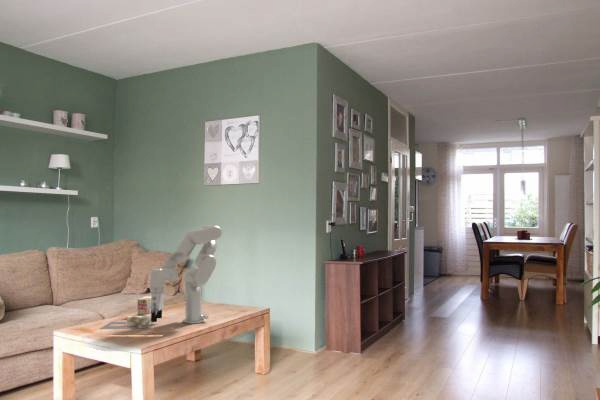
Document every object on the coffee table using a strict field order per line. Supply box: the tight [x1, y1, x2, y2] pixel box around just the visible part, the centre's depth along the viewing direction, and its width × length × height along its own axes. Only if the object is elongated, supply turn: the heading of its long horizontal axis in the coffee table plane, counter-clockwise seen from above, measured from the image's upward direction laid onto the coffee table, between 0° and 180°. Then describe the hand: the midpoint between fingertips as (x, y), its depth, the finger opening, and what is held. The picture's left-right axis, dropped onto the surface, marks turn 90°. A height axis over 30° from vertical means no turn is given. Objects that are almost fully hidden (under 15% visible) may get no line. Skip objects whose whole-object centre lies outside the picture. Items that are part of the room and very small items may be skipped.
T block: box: [126, 314, 151, 328], centre depth 288 cm, size 12×12×5 cm
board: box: [99, 321, 155, 330], centre depth 288 cm, size 26×18×1 cm
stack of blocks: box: [137, 295, 156, 316], centre depth 320 cm, size 21×6×12 cm, turn 169°
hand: (156, 319), depth 288 cm, fingers open, 9 cm apart
